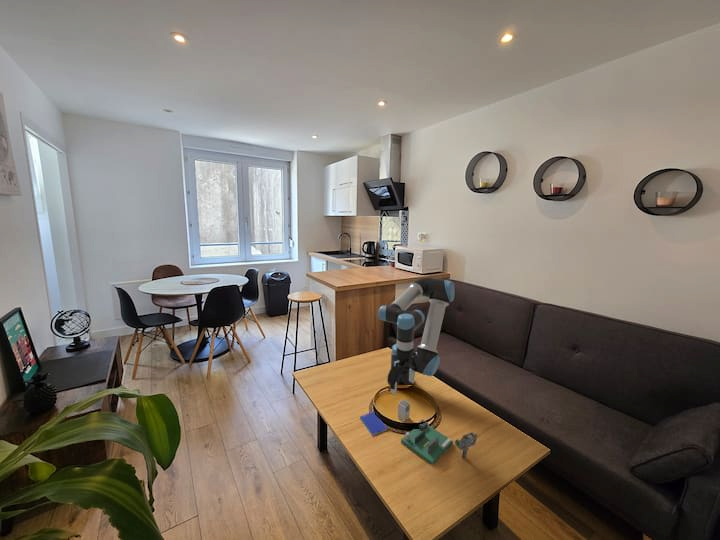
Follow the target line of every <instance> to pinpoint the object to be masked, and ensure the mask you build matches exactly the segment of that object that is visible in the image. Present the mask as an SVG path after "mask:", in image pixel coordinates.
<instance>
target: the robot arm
mask: <svg viewBox="0 0 720 540" xmlns="http://www.w3.org/2000/svg"><path fill="white" fill-rule="evenodd" d="M455 288H456V287H455V284H454V282H453V281H451V280H448V279H442V278H437V277H436V278H434V277H429V276H428V277H426V276H425V277H420V278H417V279H415V280H414V281H412V282H410V284H409V285H408V286H407V289H406V290H405V291H403V292H402V293H401V294H400V295H399V296H398V297H397V298H396V299H395V300H393V302H391V303H390V304H389V305H384V304H383V305H381V306H380V307H379V309H378V313H377V314H378V319H379V320H381V321H383V322H387V323H392V324H396V326H397V327H396V343H395V344H393V345H392V346H391V352H390V355H391V356H390V369H389V371H388V374H387V378H386V379H387V380H386V381H387V384H388V385H389V386H390V394H391V395H393V396H397V389H398V388H397V385H412V386H413V385H414V383H415V377H416V376H415V375H416V374H415V373H418V374H422V375H423V376H428V377H433V376H434V375H435V374H436V372H437V370H438V368H439V366H440V361H441V357H440V356H439V351H438V350H437V347H438V346H437V345H438V342H439V338H440V332H441V329H442V324H443V320H444V316H445V311H446V307H448V306H450V303H452V302H454V300H455V294H456V293H455V292H456V291H455ZM422 297H425V298H428V301H429V303H430V305H429V309H428V312H427V317H425V314H424V313H423V311H421V310H420V309H414V310H412V311H409V310H407V309H408V308H409V307H410V306H411V305H412V304H413V303H414V302H415V301H416V300H417V299H420V298H422ZM425 318H426V319H425ZM425 320H426V321H425ZM424 322H425V325H424V328H423V329H424V330H423V332H422V337H421V342H420V344H419V345H417V347H416V349H415V348H414V338H415V336H414V334H415V331H416V330H418V329H419V328H420V327H421V326H422V325H423V323H424Z"/></svg>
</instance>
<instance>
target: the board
mask: <svg viewBox="0 0 720 540" xmlns="http://www.w3.org/2000/svg"><path fill="white" fill-rule="evenodd" d="M421 422H425V423H423V424H420V425H419V429H414V428H413V429H412V430H411V431H410V432H409V431H407V432H405V436H404V437H402V438H401V439H400V442H401V443H402V444H403V445H404V446H405V447H407V448H409V449H410V451H411V452H412V451H413V453H414V454H416V455H418V456H419V457H420V458H421V459H423V460H424V461H426V462H427V463H428V464H429V465H431V466H433V465H434V464H435V463H436V462H437V461H438V460H439V459H440V458H441V457H442V456H443V454H445V453H446V452H447V450H449V448H450V447H452V446H453V444H454V440H452V439H451V438H450V437H448V436H446V435H444V434H443V433H441V432H440V431H438V430H436V429H435V428H433V427H432V426H431V425H429V423H428V422H427V421H426V420H424V419H421V420H420V421H419V422H418V423H421ZM424 429H425V430H426V432H425V437H423V438H422V439H421V440H420V441H419V442H418V443H417V444H415V437H416V436H418V435H419V434H420V433H421V432H422V431H423V430H424ZM437 436H438V437H439V445H438V446H437V447H436V448H435V449H434V450H433V451H432V452H431V453H430V454H429V453H428V445H429V444H430V443H431V442H432V441H433V440H434V439H435V438H436V437H437ZM428 441H429V443H428ZM426 442H427V443H428V444H427V445H425V447H424V446H423V445H424V444H425V443H426Z"/></svg>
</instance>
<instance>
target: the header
mask: <svg viewBox="0 0 720 540" xmlns="http://www.w3.org/2000/svg"><path fill="white" fill-rule="evenodd" d="M425 432H426V430H425V429H424V430H423V431H422V432H421V433H420V434H419V435H418V436H416V437H415V444H417V443H418V442H419V441H420V440H421V439H422V438H423V437H425ZM428 443H429V441H428ZM428 443H427V442H426V443H425V444H424V445H423V446H424V447H425V445H427V444H428ZM438 445H439V437H438V436H437V437H436V438H435V439H434V440H433V441H432V442H431V443H430V444H429V445H428V453H429V454H430V453H431V452H432V451H433V450H434V449H435V448H436V447H437V446H438Z"/></svg>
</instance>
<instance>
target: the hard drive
mask: <svg viewBox="0 0 720 540" xmlns="http://www.w3.org/2000/svg"><path fill="white" fill-rule="evenodd" d="M374 412H375V411H372V412H369V413H366V414H363V415H360V416H359V419H360V421H361V422H362V424H363V426H364V427H365V428H366V429H367V431H368V432H369V433H370V435H371V436H375V435H378V434H380V433H383V432H385V431H388V427H387V426H386V424H385V423H384V422H383V421H382V420H381V418H380V417H379V416H378V415H377V414H376V415H377V416H378V417H379V418H380V419H379V418H378V417H377V416H376V415H375V413H376V412H375V413H374Z"/></svg>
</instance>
